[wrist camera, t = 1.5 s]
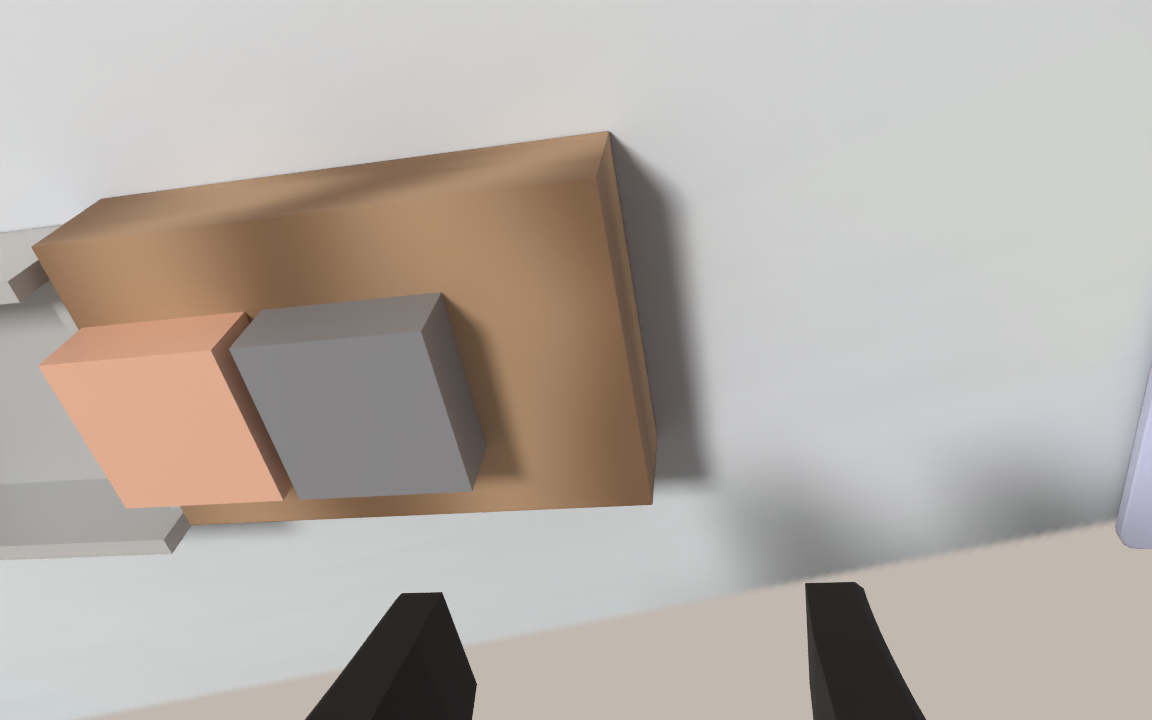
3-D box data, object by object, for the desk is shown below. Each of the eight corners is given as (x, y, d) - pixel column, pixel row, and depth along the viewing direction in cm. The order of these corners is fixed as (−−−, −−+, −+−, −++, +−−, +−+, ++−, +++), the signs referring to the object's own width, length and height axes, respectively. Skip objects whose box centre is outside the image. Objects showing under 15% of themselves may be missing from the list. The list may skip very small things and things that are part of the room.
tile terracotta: (244, 311, 18) (210, 350, 17) (309, 456, 20) (283, 500, 19) (81, 327, 19) (37, 365, 18) (160, 465, 21) (126, 508, 20)
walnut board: (609, 131, 17) (595, 177, 15) (657, 436, 22) (652, 504, 20) (101, 198, 20) (30, 246, 18) (234, 461, 24) (190, 524, 22)
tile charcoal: (441, 291, 17) (421, 331, 16) (487, 446, 19) (472, 491, 18) (261, 309, 18) (228, 348, 17) (324, 455, 20) (299, 499, 19)
